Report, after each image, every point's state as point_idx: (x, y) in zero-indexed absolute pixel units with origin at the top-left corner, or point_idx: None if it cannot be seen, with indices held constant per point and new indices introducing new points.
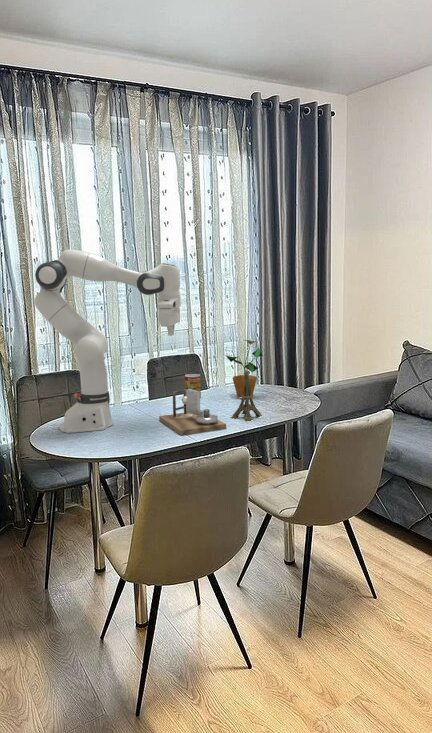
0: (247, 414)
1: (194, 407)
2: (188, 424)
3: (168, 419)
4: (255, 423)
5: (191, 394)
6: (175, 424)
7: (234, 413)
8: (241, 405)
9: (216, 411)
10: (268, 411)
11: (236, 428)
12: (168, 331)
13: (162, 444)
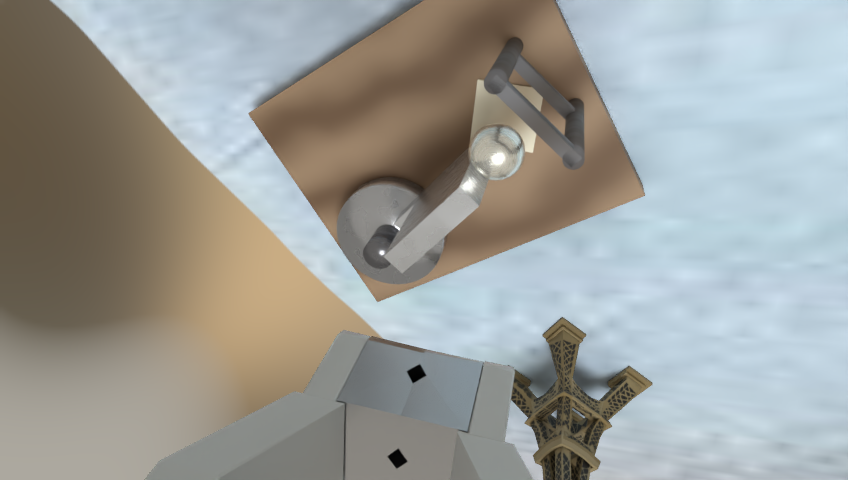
0: (514, 395)
1: (427, 194)
2: (352, 141)
3: (441, 17)
4: None
5: (426, 211)
6: (344, 73)
7: (560, 347)
8: (558, 402)
9: (709, 263)
10: (665, 469)
11: (392, 326)
12: (306, 400)
13: (128, 37)
